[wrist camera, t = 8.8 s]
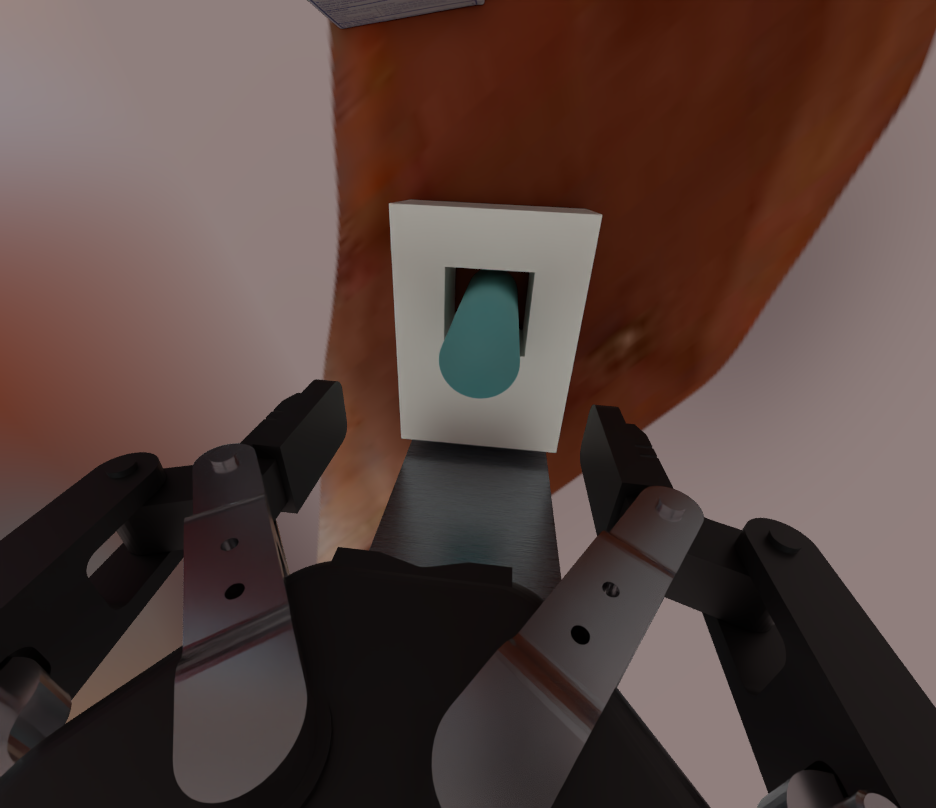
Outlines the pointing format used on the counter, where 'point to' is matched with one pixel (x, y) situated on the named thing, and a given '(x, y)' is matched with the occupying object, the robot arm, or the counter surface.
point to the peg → (483, 337)
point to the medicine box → (382, 9)
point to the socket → (541, 341)
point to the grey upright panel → (473, 511)
